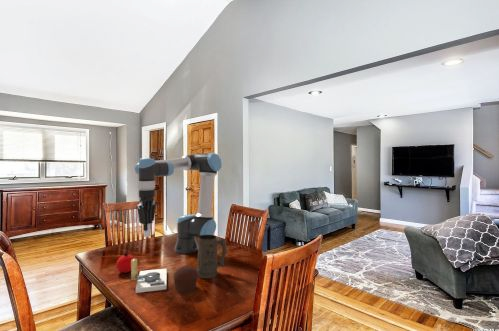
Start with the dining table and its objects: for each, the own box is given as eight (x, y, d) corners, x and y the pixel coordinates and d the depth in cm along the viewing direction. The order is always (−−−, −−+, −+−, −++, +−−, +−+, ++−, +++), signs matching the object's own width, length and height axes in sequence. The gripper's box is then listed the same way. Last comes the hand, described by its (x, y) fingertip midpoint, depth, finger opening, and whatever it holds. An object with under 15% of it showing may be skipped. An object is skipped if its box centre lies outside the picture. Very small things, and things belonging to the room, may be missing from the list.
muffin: (199, 293, 119) (199, 270, 119) (173, 296, 115) (173, 273, 115) (196, 282, 130) (197, 261, 130) (173, 284, 127) (173, 263, 127)
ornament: (117, 277, 135) (117, 257, 135) (115, 270, 142) (115, 252, 142) (136, 273, 140) (136, 254, 140) (133, 267, 147) (133, 249, 147)
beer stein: (198, 280, 132) (201, 239, 132) (192, 272, 141) (195, 234, 141) (227, 276, 139) (230, 238, 139) (219, 269, 148) (222, 233, 149)
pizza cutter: (160, 274, 132) (160, 254, 132) (159, 280, 126) (160, 259, 126) (132, 277, 128) (132, 257, 128) (130, 284, 122) (130, 262, 122)
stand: (166, 272, 141) (166, 265, 141) (166, 289, 122) (166, 280, 122) (139, 275, 137) (139, 267, 137) (135, 293, 118) (135, 284, 118)
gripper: (149, 187, 140) (149, 232, 141) (131, 190, 128) (131, 239, 128) (161, 188, 138) (161, 233, 138) (144, 191, 126) (144, 241, 126)
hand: (147, 236), depth 133 cm, fingers closed
